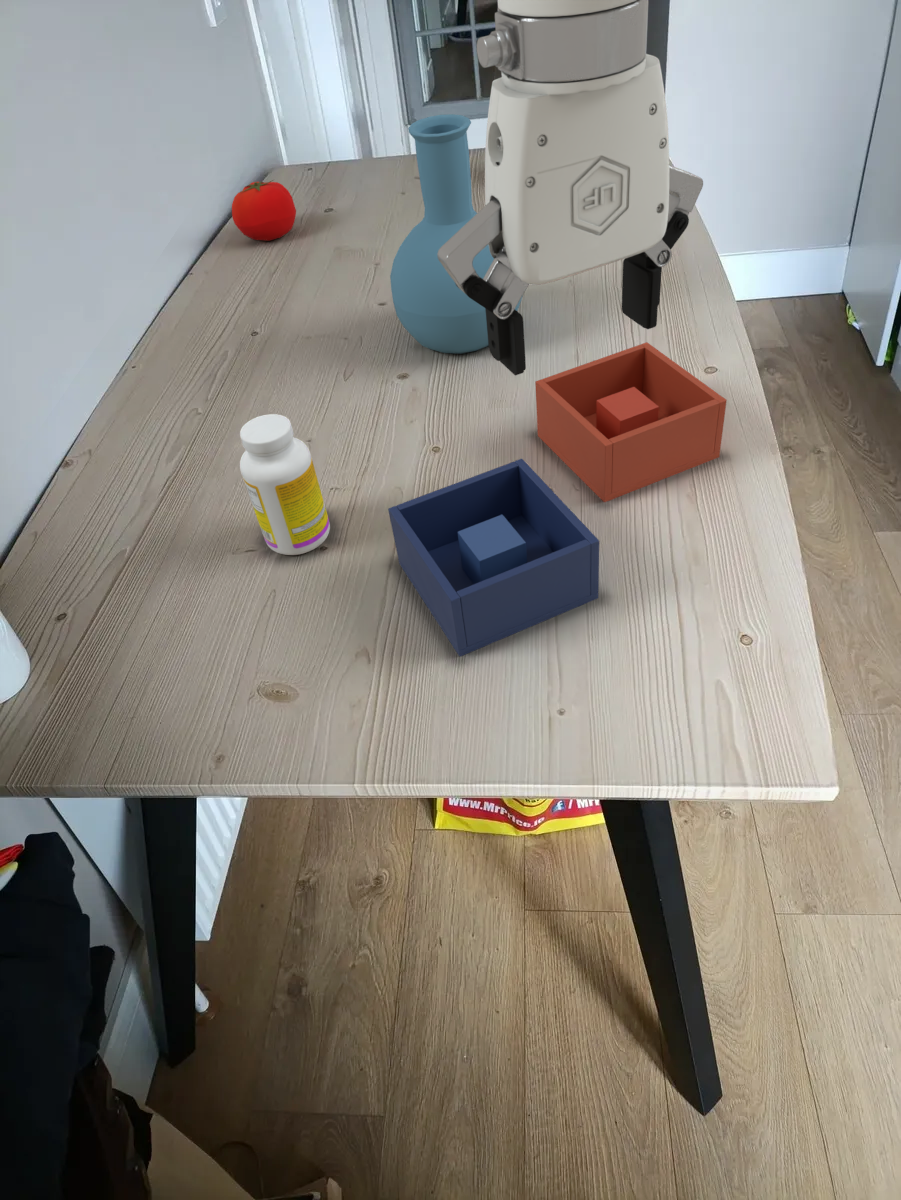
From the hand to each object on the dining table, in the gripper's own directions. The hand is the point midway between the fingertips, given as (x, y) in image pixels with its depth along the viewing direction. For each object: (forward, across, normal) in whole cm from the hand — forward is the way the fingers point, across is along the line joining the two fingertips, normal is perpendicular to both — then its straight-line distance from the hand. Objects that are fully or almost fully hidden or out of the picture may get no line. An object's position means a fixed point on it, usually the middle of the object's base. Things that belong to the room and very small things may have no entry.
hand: (575, 342), depth 57 cm
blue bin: (+26, -4, +8) cm, 28 cm away
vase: (+26, +13, +51) cm, 59 cm away
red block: (+26, +17, +19) cm, 36 cm away
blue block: (+26, -4, +8) cm, 27 cm away
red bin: (+26, +17, +19) cm, 37 cm away
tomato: (+26, +1, +99) cm, 102 cm away
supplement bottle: (+26, -18, +24) cm, 40 cm away
